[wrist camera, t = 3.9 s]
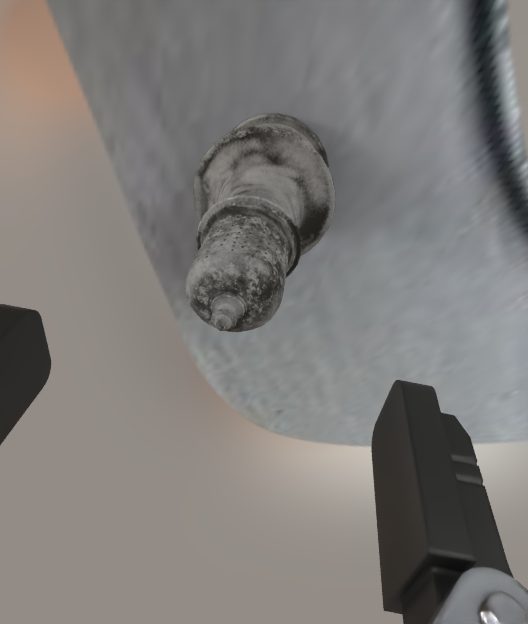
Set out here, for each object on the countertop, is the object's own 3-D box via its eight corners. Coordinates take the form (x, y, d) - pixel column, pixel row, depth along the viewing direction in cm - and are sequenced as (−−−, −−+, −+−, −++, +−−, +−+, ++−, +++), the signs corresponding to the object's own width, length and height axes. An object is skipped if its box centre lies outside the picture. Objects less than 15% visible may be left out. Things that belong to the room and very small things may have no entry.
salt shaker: (198, 116, 20) (71, 237, 10) (329, 96, 18) (325, 210, 9) (226, 234, 23) (150, 408, 13) (339, 223, 22) (343, 405, 12)
